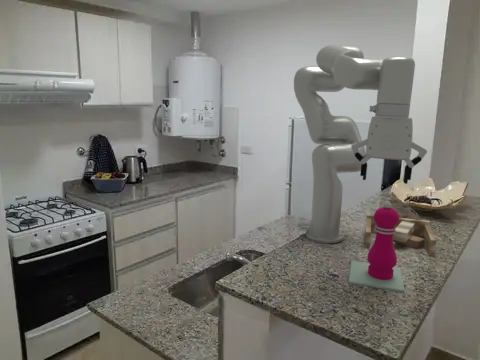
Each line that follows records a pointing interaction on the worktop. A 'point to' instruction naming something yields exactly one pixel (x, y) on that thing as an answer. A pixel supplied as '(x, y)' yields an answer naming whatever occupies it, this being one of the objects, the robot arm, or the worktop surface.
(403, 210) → the clay tablet
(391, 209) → the pepper mill
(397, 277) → the green mat
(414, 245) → the walnut offcut
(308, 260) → the worktop surface
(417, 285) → the worktop surface
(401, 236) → the birch offcut
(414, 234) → the oak rack
